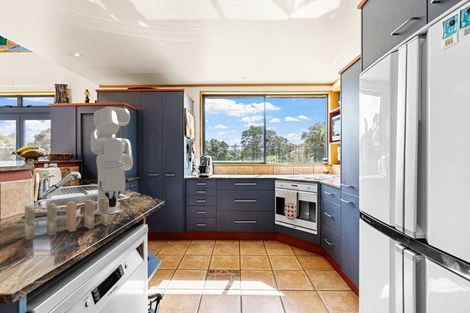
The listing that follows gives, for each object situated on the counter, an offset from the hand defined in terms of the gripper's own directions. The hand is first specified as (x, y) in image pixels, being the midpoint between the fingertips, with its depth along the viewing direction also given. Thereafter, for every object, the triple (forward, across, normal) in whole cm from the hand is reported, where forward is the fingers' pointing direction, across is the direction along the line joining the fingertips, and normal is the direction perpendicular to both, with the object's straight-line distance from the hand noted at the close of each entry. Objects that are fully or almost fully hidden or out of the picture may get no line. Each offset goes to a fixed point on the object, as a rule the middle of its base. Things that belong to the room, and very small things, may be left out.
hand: (112, 206), depth 110 cm
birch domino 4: (+7, +2, 0) cm, 8 cm away
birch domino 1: (+7, +28, -1) cm, 29 cm away
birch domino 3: (+7, +9, 0) cm, 12 cm away
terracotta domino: (+7, +16, 0) cm, 17 cm away
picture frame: (+8, +14, -32) cm, 36 cm away
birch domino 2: (+7, +22, 0) cm, 23 cm away
